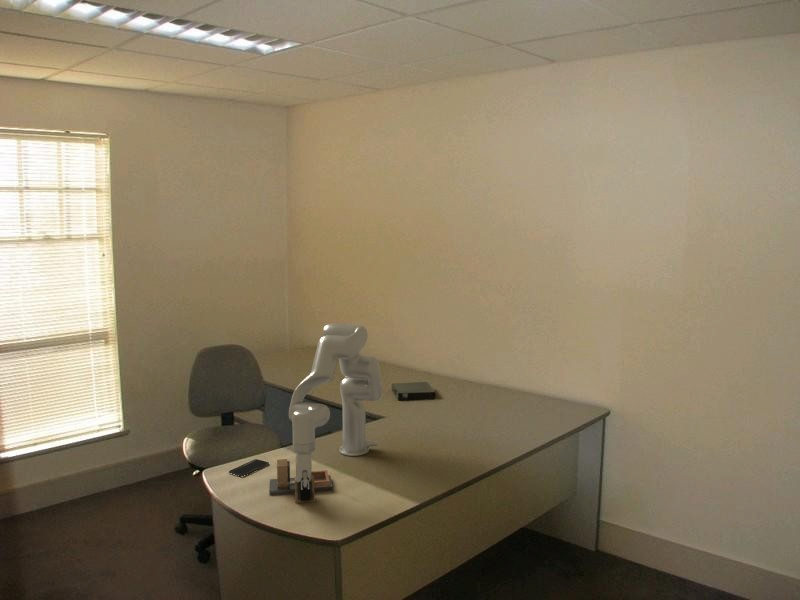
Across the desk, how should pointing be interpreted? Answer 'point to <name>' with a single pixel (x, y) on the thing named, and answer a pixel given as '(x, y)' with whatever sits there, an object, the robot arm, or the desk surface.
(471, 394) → the desk surface
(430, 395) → the network switch
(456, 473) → the desk surface
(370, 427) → the desk surface
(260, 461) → the phone
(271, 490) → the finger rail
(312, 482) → the small cardboard box
